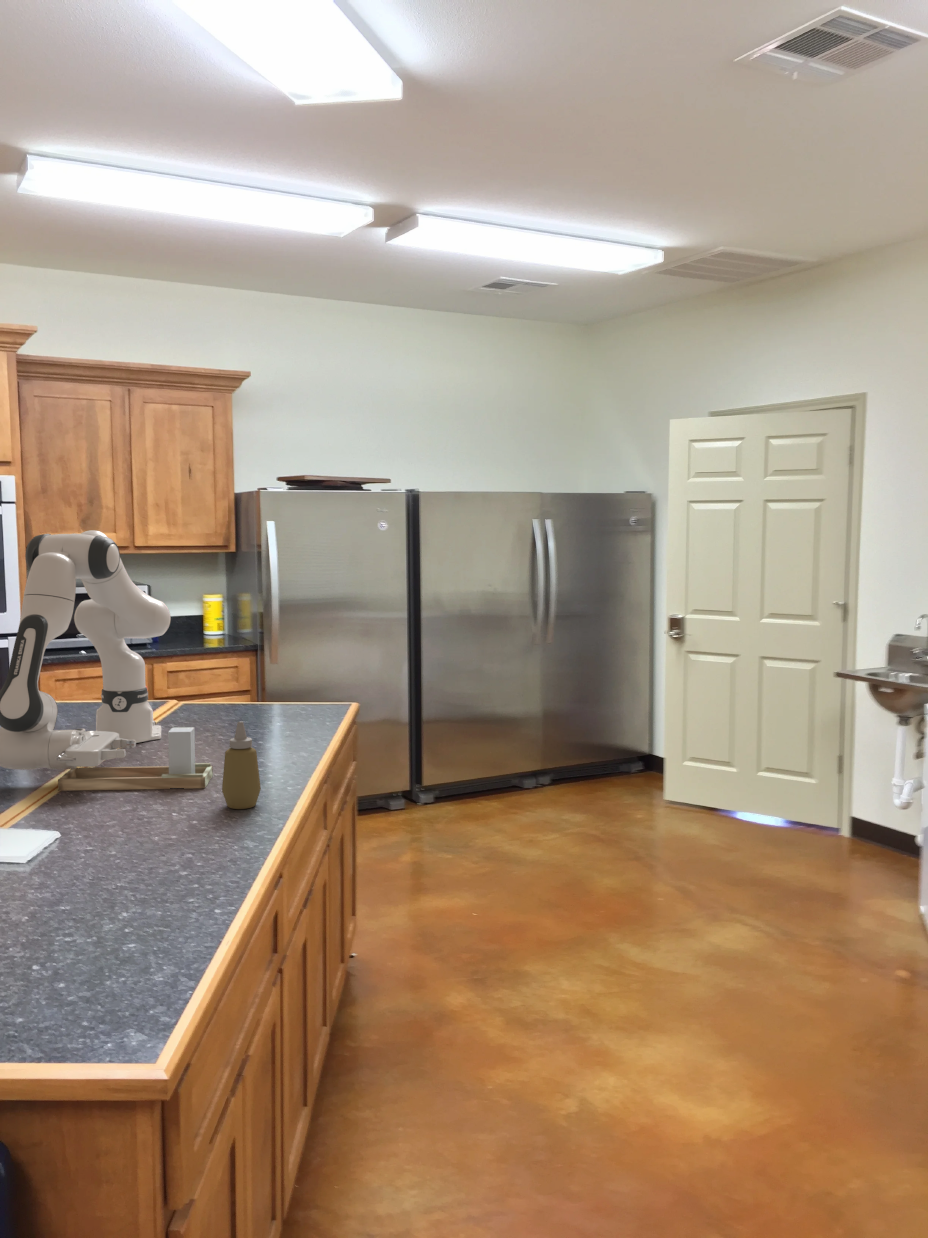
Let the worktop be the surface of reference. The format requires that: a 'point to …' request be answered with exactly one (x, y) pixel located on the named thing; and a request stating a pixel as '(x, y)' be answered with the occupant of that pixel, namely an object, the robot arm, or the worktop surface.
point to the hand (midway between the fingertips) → (130, 748)
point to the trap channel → (133, 778)
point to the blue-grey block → (181, 750)
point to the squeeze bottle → (241, 772)
